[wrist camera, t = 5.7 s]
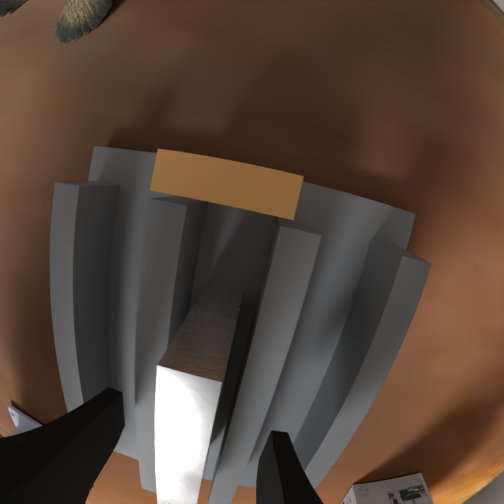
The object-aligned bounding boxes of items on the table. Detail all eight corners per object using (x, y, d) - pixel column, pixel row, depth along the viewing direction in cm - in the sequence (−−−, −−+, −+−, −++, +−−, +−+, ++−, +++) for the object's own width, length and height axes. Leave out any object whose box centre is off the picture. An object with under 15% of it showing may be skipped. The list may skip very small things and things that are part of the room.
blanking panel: (210, 445, 14) (191, 529, 8) (185, 439, 14) (158, 520, 8) (243, 290, 12) (221, 382, 6) (207, 282, 12) (157, 365, 6)
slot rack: (291, 480, 16) (294, 559, 9) (102, 435, 16) (62, 501, 9) (405, 211, 12) (515, 240, 5) (105, 148, 12) (-9, 132, 5)
